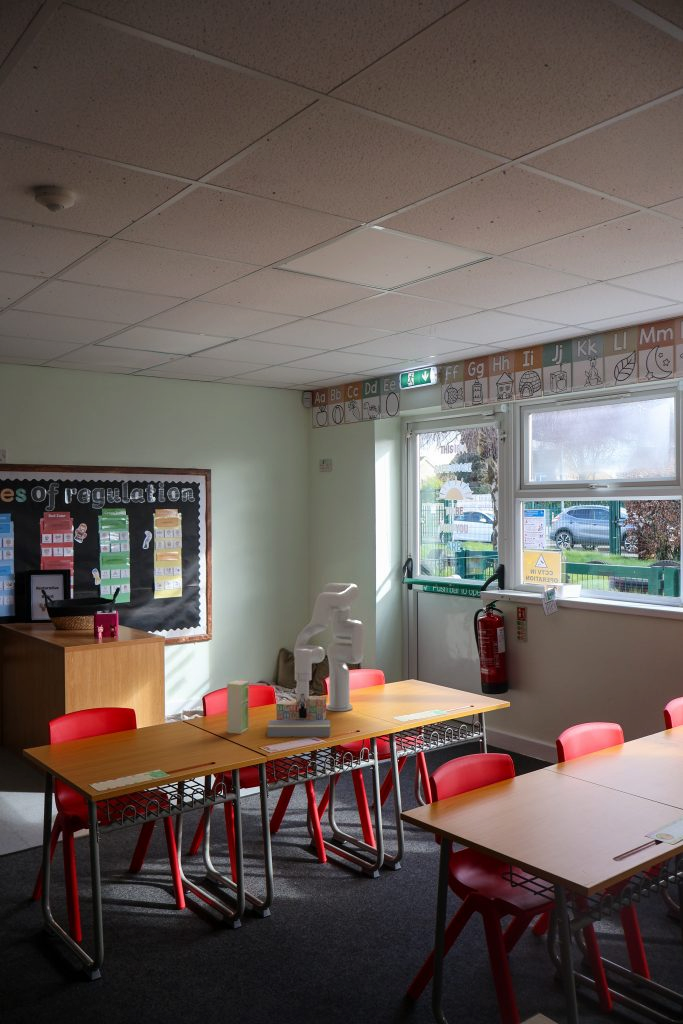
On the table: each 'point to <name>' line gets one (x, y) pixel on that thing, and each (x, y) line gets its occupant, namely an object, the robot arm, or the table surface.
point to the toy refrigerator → (237, 706)
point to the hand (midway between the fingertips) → (303, 715)
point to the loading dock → (298, 728)
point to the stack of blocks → (291, 709)
